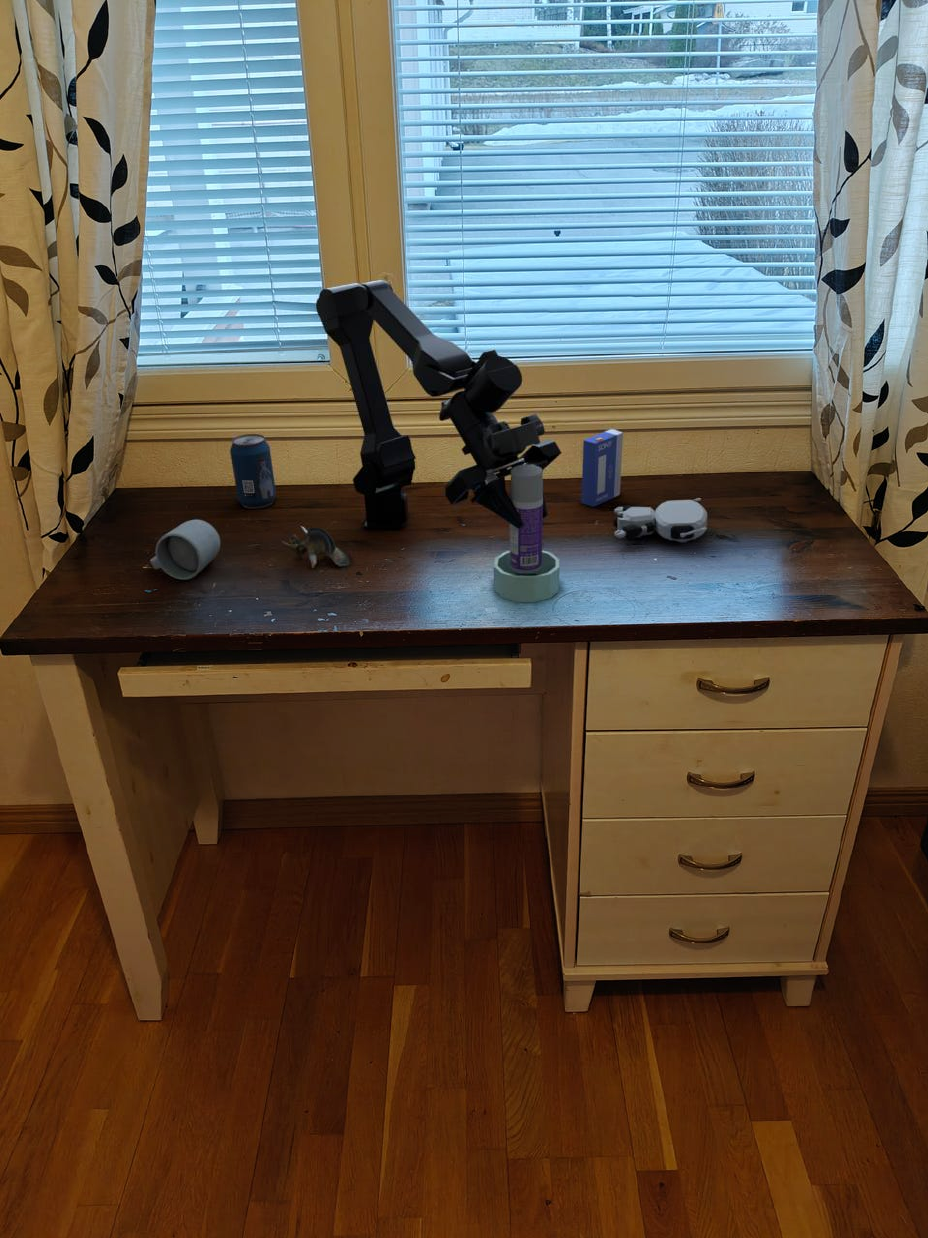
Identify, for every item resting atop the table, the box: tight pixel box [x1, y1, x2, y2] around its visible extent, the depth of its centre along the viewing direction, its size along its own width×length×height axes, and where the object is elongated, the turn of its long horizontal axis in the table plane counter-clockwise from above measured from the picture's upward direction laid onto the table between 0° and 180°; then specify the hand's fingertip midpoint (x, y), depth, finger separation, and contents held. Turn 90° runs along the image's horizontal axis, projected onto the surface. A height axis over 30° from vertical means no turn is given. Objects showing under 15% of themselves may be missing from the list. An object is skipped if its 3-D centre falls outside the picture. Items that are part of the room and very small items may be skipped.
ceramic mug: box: [149, 519, 222, 581], centre depth 149 cm, size 11×8×8 cm
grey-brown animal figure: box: [281, 525, 351, 569], centre depth 150 cm, size 8×7×9 cm
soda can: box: [229, 433, 277, 509], centre depth 170 cm, size 7×7×12 cm
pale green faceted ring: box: [493, 549, 561, 603], centre depth 141 cm, size 10×10×4 cm
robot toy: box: [612, 497, 708, 543], centre depth 155 cm, size 12×4×15 cm
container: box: [509, 465, 544, 573], centre depth 137 cm, size 5×5×15 cm
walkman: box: [581, 428, 624, 508], centre depth 167 cm, size 8×3×12 cm, turn 134°
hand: (533, 521), depth 136 cm, fingers closed on container, 4 cm apart
